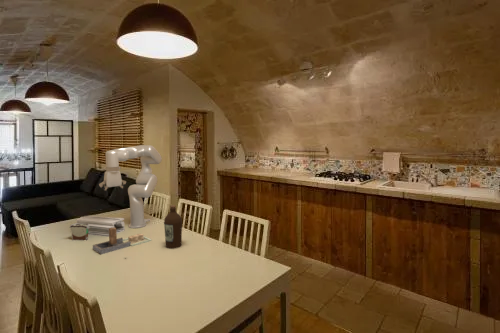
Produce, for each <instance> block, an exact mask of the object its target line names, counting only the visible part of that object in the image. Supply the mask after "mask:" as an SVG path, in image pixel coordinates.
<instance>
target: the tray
mask: <svg viewBox="0 0 500 333" xmlns="http://www.w3.org/2000/svg"><path fill="white" fill-rule="evenodd" d="M125 241H128V237H126V238H123V242H125ZM152 241H153V240H152V239H151V238H149V237H147V236H145V235H144V240H142V241H139V242H135V243H131V246H130V247H135V246H139V245H141V244H145V243H149V242H152Z"/></svg>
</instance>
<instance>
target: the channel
mask: <svg viewBox="0 0 500 333" xmlns="http://www.w3.org/2000/svg"><path fill="white" fill-rule="evenodd" d="M123 239H124V238H123V237H118V238H117V244H118V245H114V246H110V247H108V242H109V240H107V241H103V242H100V243H96V244H95V243H94V244H93V245H92V251H94V252H96V253H98V254H99V255H104V254H108V253H112V252H115V251H118V250H122V249H125V248H128V247H132V246H131V244H132V243H131V242H130V241H129V242H128V241H127V242H125V241H123Z"/></svg>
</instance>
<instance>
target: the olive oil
mask: <svg viewBox="0 0 500 333" xmlns="http://www.w3.org/2000/svg"><path fill="white" fill-rule="evenodd" d="M169 207H170V208H169V213H168V214H167V215H166V216H165V218H164V219H163V225H164V238H165V248H167V249H178V248H180V247H181V246H182V243H183V242H182V240H183V239H182V236H183V235H182V234H183V233H182V232H183V231H182V230H183V219H182V217H181V215H180V214H179V213H178V212H177V208H176V205H174V204H172V205H170V206H169Z"/></svg>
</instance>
